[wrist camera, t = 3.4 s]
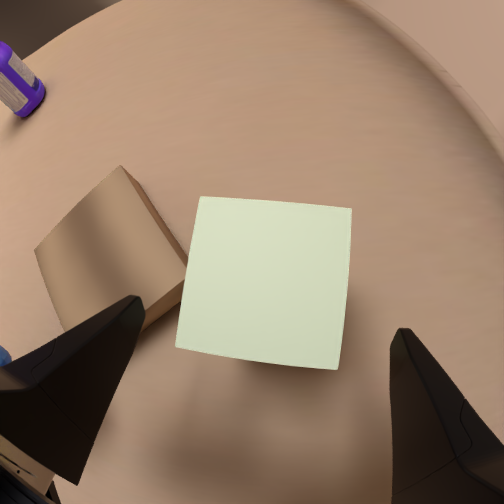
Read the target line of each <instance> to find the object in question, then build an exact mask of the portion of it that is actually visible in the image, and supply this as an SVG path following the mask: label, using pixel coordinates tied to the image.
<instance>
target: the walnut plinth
mask: <svg viewBox="0 0 504 504" xmlns="http://www.w3.org/2000/svg"><path fill="white" fill-rule="evenodd" d="M34 252H35V255H36V258H37V261H38V265H39V268H40V271H41V274H42V276H43V279H44V282H45V285H46V288H47V290H48V293H49V296H50V298H51V301H52V303H53V306H54V308H55V311H56V313H57V315H58V318H59V320H60V322H61V325H62V327H63V329H64V331H65V332H66V331H68V330H70V329H72V328H73V327H75V326H77V325H78V324H80V323H82V322H83V321H85V320H87V319H88V318H90V317H92V316H93V315H95V314H97V313H99V312H100V311H102V310H104V309H105V308H107V307H109V306H111V305H112V304H114V303H116V302H117V301H119V300H121V299H123V298H124V297H126V296H128V295H131V294H132V295H137V296H140V297H141V299H142V302H143V306H144V309H145V312H146V317H145V321H144V323H143V326H142V329H141V332H142V331H143V330H144V329H146V328H147V327H148V326H149V325H151V324H152V323H153V322H155V321H156V320H157V319H158V318H160V317H161V316H162V315H163V314H165V313H166V312H167V311H169V310H170V309H171V308H172V307H174V306H175V305H176V304H177V303H179V302H180V301H181V300H182V295H183V288H184V282H185V276H186V270H187V264H188V256H187V255H186V254H185V252H184V251H183V249H182V248H181V246H180V245H179V243H178V242H177V240H176V239H175V238H174V236H173V235H172V233H171V232H170V230H169V229H168V227H167V226H166V224H165V223H164V221H163V220H162V218H161V217H160V215H159V214H158V212H157V211H156V209H155V207H154V206H153V204H152V203H151V201H150V200H149V198H148V197H147V195H146V194H145V192H144V190H143V189H142V187H141V186H140V184H139V183H138V181H136V180H135V179H134V178H133V177H132V176H131V175H130V174H129V173H128V172H127V171H126V170H125V169H124V168H123V167H122V166H121V165H119V166H118V167H117V168H116V169H115V170H114V171H112V172H111V173H110V174H109V175H108V176H107V177H106V178H105V179H103V180H102V181H101V182H100V183H99V184H98V185H97V186H96V187H95V188H94V189H92V190H91V191H90V192H89V193H88V194H87V195H86V196H85V197H84V198H83V199H82V200H81V201H80V202H79V203H78V204H77V205H76V206H75V207H74V208H73V209H72V210H71V211H70V212H69V213H68V214H67V215H66V216H65V217H64V218H63V219H62V220H61V221H60V222H59V223H58V224H57V225H56V226H55V227H54V228H53V230H52V231H51V232H50V233H49V234H48V235H47V236H46V237H45V238H44V239H43V241H42V242H41V243H40V244H39V245H38V246H37V247H36V249H35V250H34ZM141 332H140V333H141Z"/></svg>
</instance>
